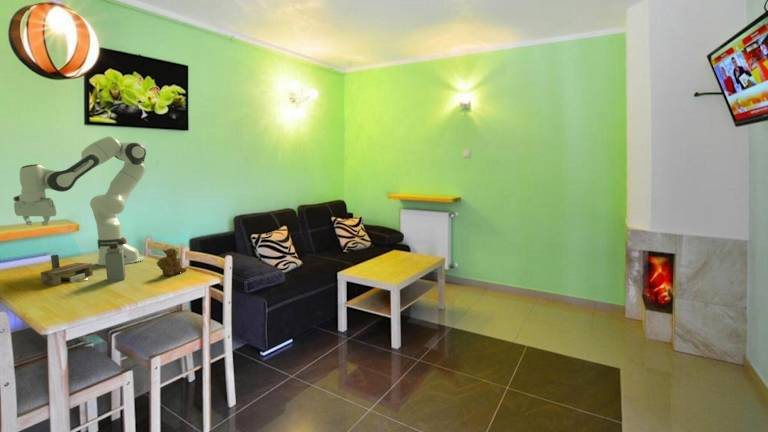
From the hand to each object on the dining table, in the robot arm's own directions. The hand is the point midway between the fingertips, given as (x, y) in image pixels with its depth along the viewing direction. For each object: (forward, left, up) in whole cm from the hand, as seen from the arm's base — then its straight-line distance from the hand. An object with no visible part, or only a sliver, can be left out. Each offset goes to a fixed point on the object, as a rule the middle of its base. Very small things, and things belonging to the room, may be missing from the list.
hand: (37, 225), depth 195 cm
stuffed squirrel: (-57, +28, -26) cm, 69 cm away
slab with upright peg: (-12, +14, -26) cm, 32 cm away
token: (-19, +20, -26) cm, 38 cm away
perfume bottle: (-33, +25, -26) cm, 49 cm away
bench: (-13, +15, -26) cm, 32 cm away
